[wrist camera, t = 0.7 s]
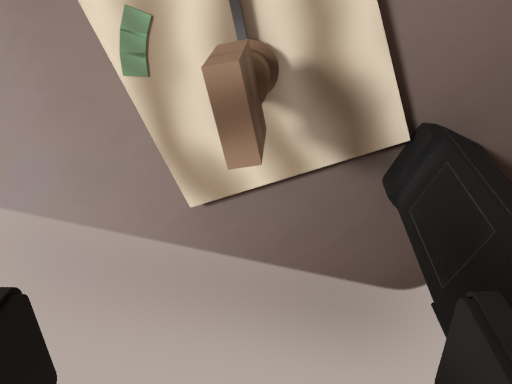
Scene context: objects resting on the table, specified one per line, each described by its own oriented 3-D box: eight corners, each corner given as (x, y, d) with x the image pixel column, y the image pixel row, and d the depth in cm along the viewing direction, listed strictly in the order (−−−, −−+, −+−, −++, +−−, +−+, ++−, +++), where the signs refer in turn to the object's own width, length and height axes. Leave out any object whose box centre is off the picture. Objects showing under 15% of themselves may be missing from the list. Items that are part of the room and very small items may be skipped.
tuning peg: (285, 100, 34) (282, 161, 25) (230, 110, 35) (208, 172, 25) (255, -67, 28) (237, -70, 19) (191, -52, 29) (144, -47, 20)
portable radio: (429, 215, 40) (585, 534, 19) (373, 190, 39) (469, 495, 18) (486, 146, 36) (763, 447, 15) (425, 116, 35) (627, 391, 14)
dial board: (339, -145, 27) (342, -149, 26) (406, 133, 36) (410, 141, 35) (78, -18, 32) (68, -16, 31) (193, 199, 41) (189, 208, 40)
